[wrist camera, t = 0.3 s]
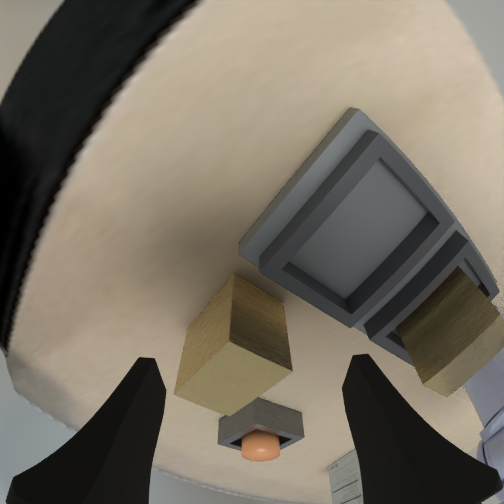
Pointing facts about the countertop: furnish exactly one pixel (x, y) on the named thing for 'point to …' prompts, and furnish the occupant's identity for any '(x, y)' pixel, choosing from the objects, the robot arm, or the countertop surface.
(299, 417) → the button housing
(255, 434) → the button
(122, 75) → the countertop surface
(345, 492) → the supplement box
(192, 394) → the block
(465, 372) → the block
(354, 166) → the tray
